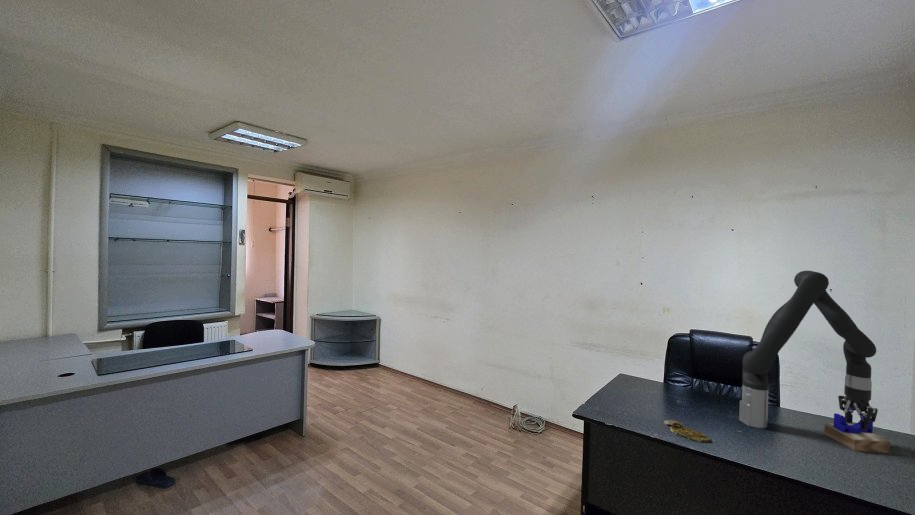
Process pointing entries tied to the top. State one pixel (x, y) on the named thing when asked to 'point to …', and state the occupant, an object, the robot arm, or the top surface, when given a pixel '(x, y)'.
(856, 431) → the cable clip
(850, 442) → the stand
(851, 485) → the top surface
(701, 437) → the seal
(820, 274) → the robot arm
